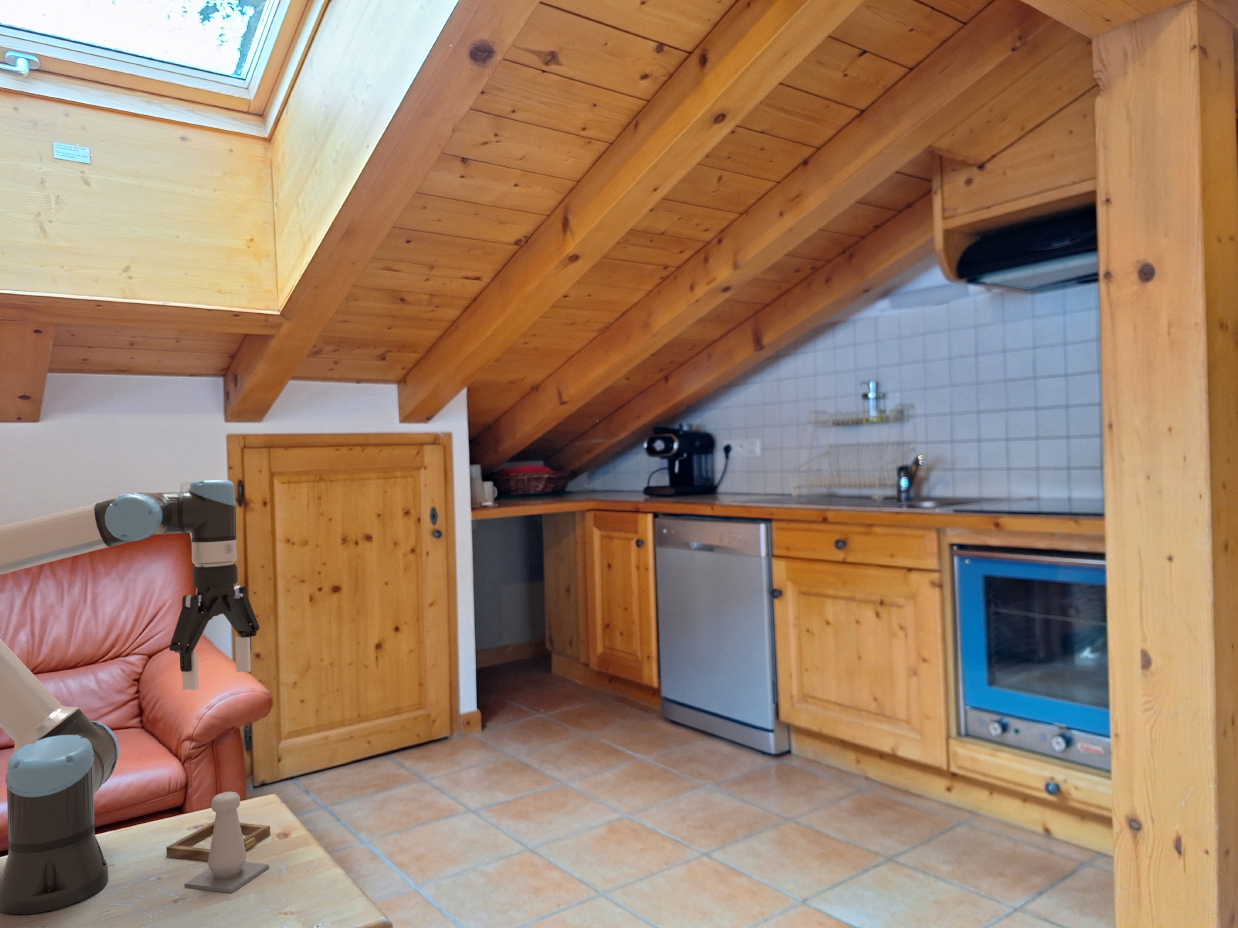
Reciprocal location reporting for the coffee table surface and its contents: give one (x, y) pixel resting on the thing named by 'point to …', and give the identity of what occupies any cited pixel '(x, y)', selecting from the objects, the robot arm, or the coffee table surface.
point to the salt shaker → (226, 837)
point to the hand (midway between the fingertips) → (218, 680)
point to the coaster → (226, 885)
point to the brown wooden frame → (183, 846)
